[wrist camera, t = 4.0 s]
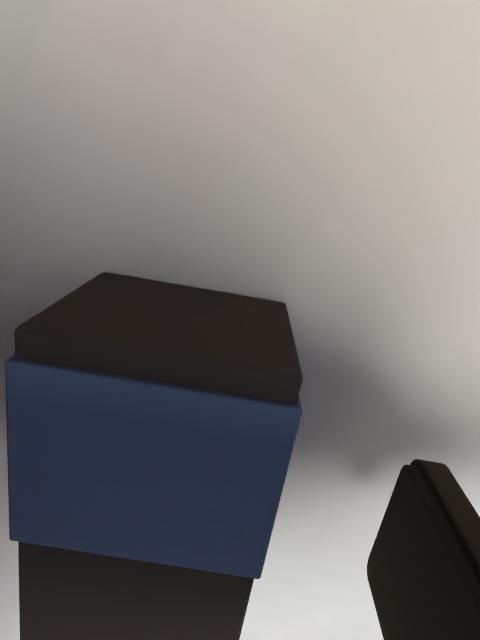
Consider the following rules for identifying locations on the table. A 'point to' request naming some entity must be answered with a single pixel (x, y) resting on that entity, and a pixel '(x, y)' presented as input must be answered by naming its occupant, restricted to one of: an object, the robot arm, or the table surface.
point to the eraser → (147, 458)
